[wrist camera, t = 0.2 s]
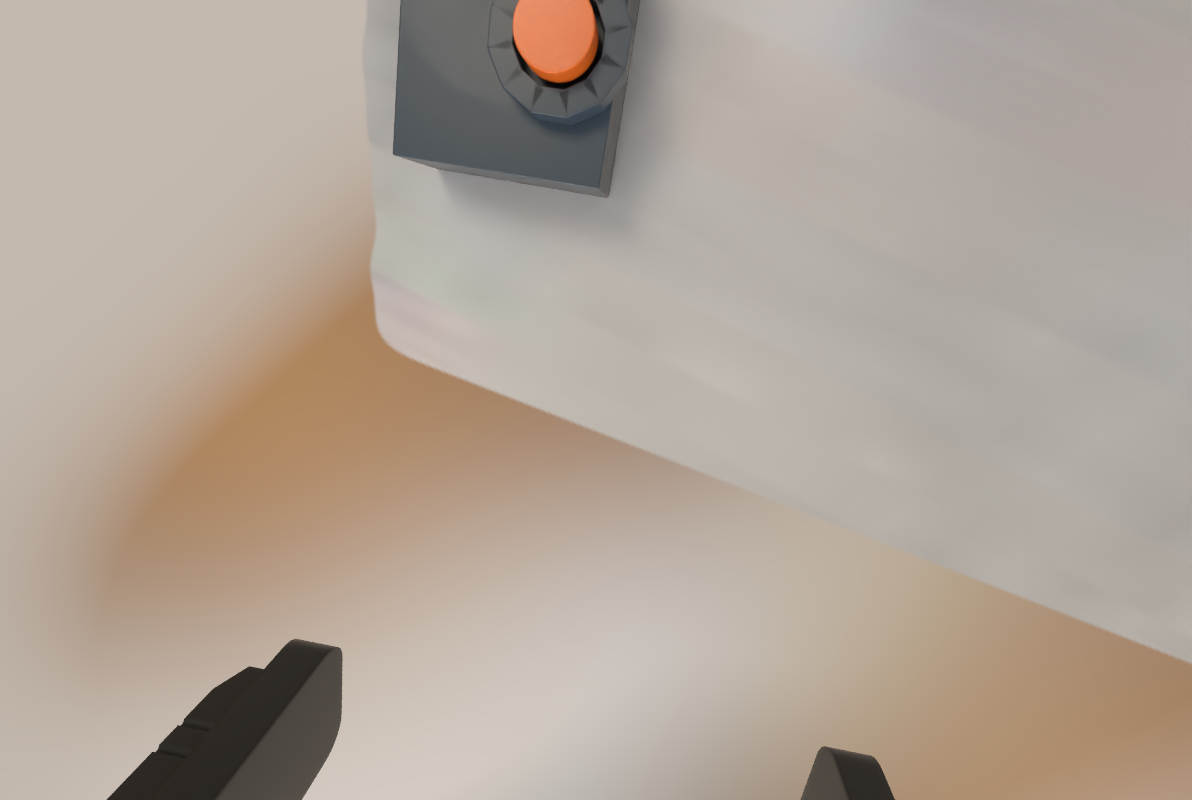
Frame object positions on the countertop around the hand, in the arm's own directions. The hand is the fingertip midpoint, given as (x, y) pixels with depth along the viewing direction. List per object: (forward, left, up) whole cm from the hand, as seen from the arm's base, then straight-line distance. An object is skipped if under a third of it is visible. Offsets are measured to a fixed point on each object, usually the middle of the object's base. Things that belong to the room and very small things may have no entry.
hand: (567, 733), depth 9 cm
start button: (-16, -6, -22) cm, 27 cm away
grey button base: (-16, -9, -29) cm, 34 cm away
